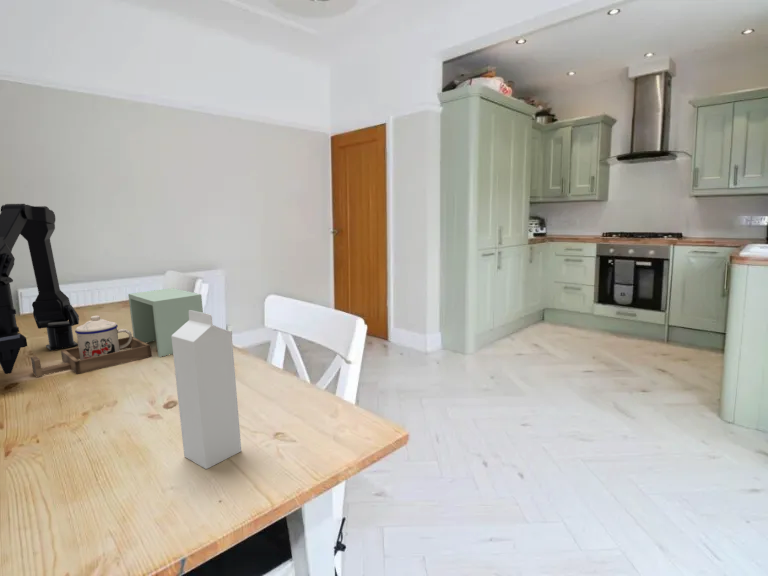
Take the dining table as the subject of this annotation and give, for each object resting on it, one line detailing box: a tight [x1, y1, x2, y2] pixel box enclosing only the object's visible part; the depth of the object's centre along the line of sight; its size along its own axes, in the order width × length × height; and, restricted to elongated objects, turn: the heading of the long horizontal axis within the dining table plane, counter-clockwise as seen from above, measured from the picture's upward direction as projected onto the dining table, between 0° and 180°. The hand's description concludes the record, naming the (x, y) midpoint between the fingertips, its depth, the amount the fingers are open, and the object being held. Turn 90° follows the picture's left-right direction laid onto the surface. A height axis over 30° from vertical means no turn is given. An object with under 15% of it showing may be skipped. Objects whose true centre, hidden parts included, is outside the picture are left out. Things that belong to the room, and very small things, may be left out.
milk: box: [171, 310, 242, 470], centre depth 64 cm, size 6×6×22 cm
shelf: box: [127, 287, 204, 358], centre depth 123 cm, size 19×12×15 cm, turn 47°
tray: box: [30, 336, 153, 378], centre depth 110 cm, size 14×23×4 cm, turn 137°
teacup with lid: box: [74, 315, 133, 360], centre depth 112 cm, size 12×9×12 cm
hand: (7, 373), depth 98 cm, fingers closed
